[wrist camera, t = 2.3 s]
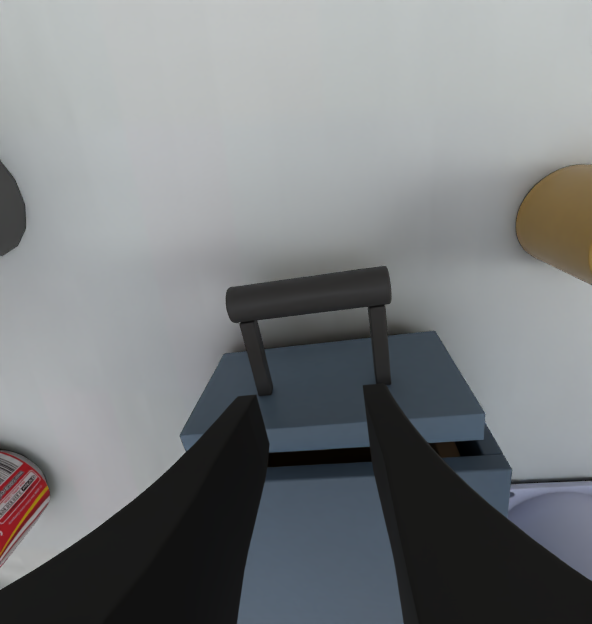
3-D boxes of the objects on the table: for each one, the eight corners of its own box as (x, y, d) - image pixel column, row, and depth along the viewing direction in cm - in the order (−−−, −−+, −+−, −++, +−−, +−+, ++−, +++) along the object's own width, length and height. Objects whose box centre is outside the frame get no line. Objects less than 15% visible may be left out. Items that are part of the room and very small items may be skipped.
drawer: (198, 268, 17) (133, 322, 11) (433, 233, 15) (493, 276, 10) (269, 507, 24) (250, 615, 18) (438, 501, 22) (475, 618, 16)
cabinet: (225, 371, 21) (169, 486, 13) (443, 349, 19) (513, 469, 11) (270, 521, 26) (247, 662, 19) (444, 516, 24) (493, 671, 17)
